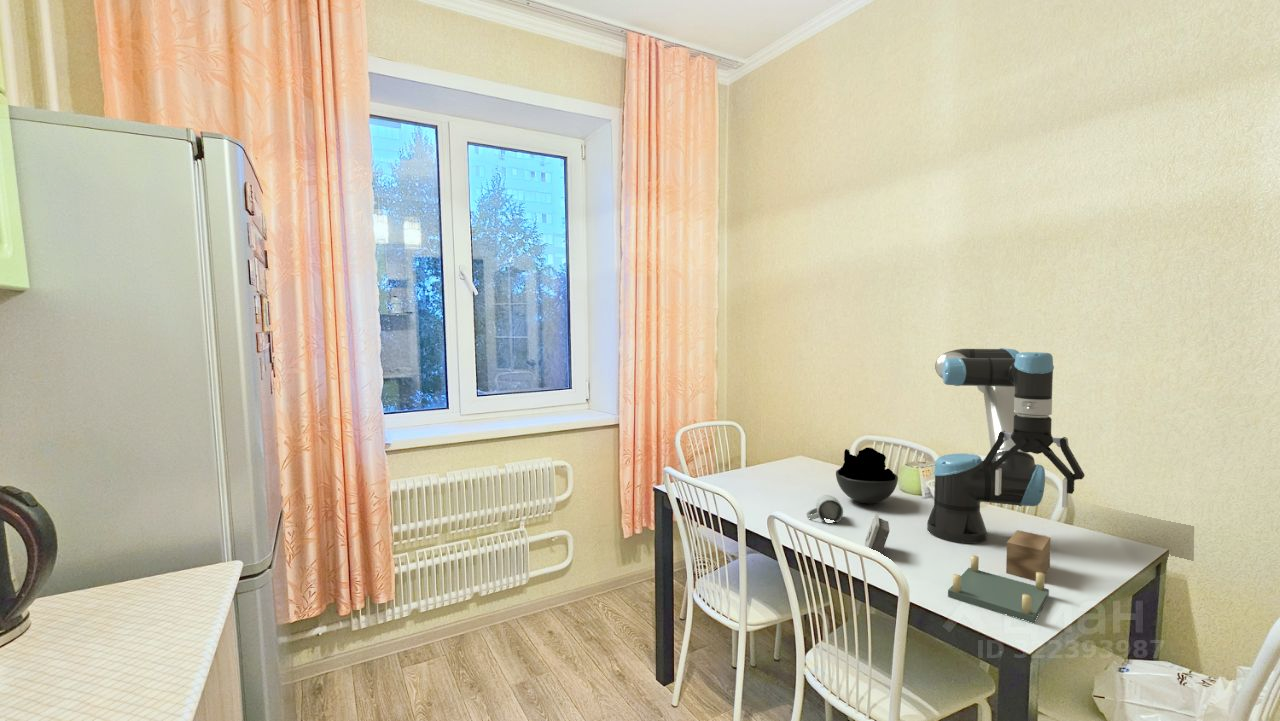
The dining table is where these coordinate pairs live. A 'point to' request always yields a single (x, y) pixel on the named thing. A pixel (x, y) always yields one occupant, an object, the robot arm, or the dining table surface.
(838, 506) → the ceramic mug
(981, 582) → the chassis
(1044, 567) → the walnut block
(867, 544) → the electrical switch
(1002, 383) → the robot arm
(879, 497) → the bowl of black rocks
